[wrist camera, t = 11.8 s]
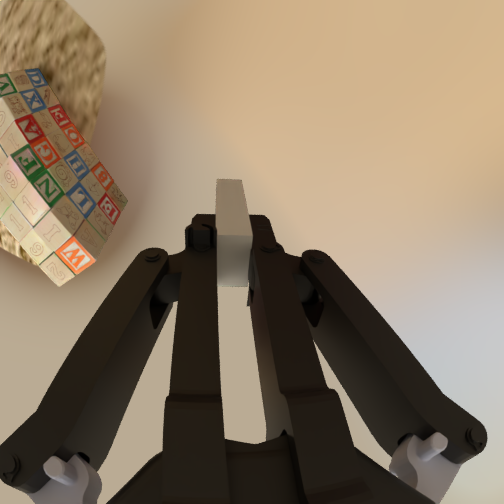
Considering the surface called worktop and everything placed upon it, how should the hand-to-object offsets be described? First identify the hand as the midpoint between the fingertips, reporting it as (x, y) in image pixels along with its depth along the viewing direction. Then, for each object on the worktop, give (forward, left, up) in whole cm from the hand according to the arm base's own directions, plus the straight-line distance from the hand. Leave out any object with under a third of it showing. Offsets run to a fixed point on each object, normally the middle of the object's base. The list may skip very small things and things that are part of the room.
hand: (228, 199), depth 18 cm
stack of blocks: (0, -19, -15) cm, 24 cm away
